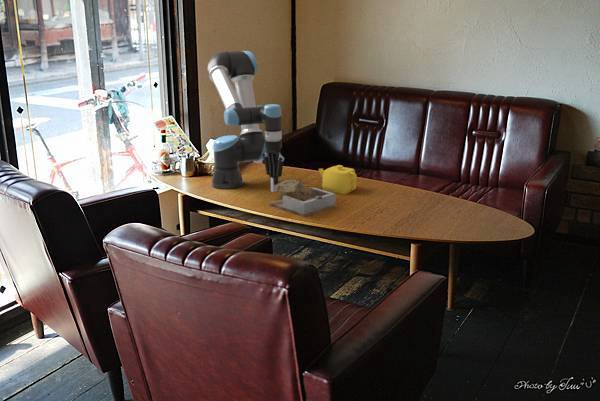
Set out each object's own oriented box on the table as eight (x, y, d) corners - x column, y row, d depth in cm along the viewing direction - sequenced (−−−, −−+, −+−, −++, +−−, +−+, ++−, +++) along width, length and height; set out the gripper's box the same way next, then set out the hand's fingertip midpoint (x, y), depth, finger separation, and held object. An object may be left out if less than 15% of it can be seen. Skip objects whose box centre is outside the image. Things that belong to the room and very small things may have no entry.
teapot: (312, 189, 304) (312, 165, 301) (325, 183, 314) (326, 159, 311) (349, 196, 294) (350, 171, 290) (362, 189, 304) (363, 165, 300)
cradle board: (268, 205, 282) (268, 202, 281) (299, 196, 294) (299, 193, 294) (304, 217, 267) (304, 214, 266) (335, 206, 279) (335, 204, 279)
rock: (291, 193, 273) (303, 177, 278) (270, 190, 281) (282, 174, 286) (301, 211, 279) (313, 195, 284) (280, 207, 288) (292, 192, 292)
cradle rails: (282, 207, 275) (282, 195, 273) (313, 197, 288) (313, 186, 286) (305, 214, 266) (305, 202, 264) (336, 204, 278) (336, 192, 277)
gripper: (257, 139, 286) (258, 189, 294) (276, 143, 278) (277, 195, 285) (269, 136, 291) (270, 186, 299) (289, 140, 283) (290, 192, 290)
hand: (274, 190), depth 292 cm, fingers closed
